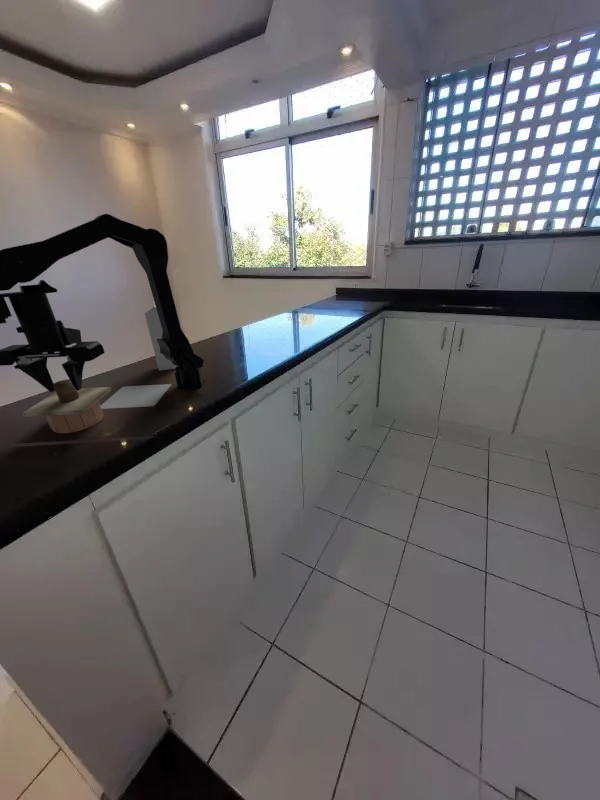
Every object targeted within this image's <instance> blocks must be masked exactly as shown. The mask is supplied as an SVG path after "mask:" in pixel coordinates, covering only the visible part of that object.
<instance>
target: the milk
mask: <svg viewBox="0 0 600 800" xmlns="http://www.w3.org/2000/svg"><path fill="white" fill-rule="evenodd" d="M144 317H145V320H146V325H147V328H148V329H147V330H148V332H149V337H150V340H151V344H152V347H153V348H152V349H153V353H154V357H155V360H156V365H157V369H158V371H166V370H175V368H176V367H177V366H176V365H174V364H173V363H172V362H171V361H170V360H168V359H166V358H165V357H164V355H163V354H161V353H160V346H159V344H158V342H157V339H159V338H162V333H163V331H162V327H161V323H160V320H159V316H158V313H157V309H156V305H155V302H154V300H153V301H152V306H151V307H149V309H147V310H146V311H145V312H144Z"/></svg>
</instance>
